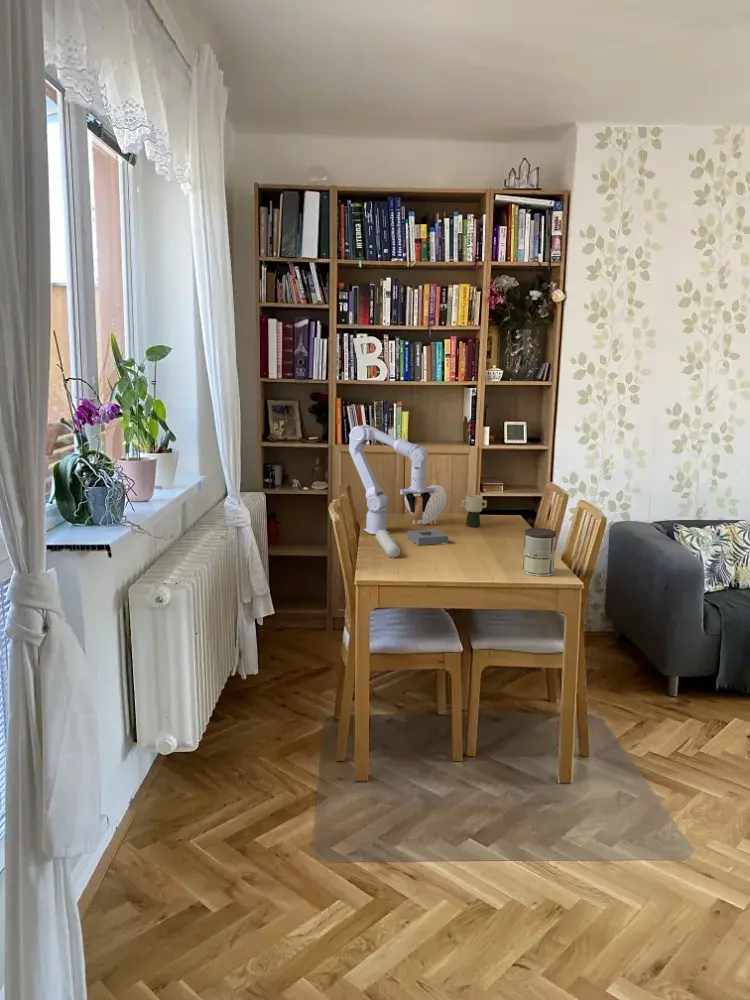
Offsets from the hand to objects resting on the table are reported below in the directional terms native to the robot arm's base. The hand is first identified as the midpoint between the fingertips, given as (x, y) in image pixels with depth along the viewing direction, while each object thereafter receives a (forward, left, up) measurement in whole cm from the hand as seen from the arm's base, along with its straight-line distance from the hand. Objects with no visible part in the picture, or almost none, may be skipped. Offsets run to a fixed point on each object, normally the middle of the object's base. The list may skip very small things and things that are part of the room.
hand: (417, 511), depth 305 cm
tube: (+18, -19, -10) cm, 28 cm away
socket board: (+9, +1, -10) cm, 13 cm away
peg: (0, 0, -3) cm, 3 cm away
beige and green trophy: (-12, +31, -10) cm, 35 cm away
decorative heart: (-20, +12, -10) cm, 26 cm away
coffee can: (+60, +20, -10) cm, 64 cm away
